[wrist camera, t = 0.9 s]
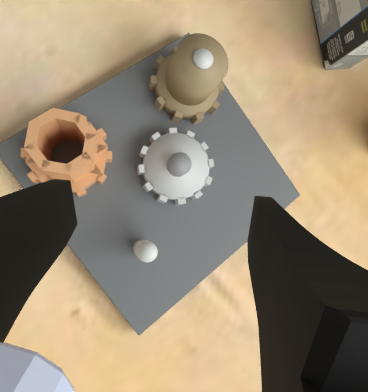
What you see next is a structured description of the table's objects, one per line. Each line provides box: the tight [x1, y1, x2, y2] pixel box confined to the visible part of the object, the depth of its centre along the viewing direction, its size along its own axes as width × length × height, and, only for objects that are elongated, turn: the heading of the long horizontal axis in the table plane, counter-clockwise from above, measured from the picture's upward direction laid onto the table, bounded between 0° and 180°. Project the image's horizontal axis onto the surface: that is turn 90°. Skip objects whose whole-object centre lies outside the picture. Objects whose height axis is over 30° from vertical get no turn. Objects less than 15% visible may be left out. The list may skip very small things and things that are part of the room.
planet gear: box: [21, 108, 112, 197], centre depth 23 cm, size 7×7×6 cm
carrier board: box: [0, 33, 300, 335], centre depth 26 cm, size 21×20×7 cm
